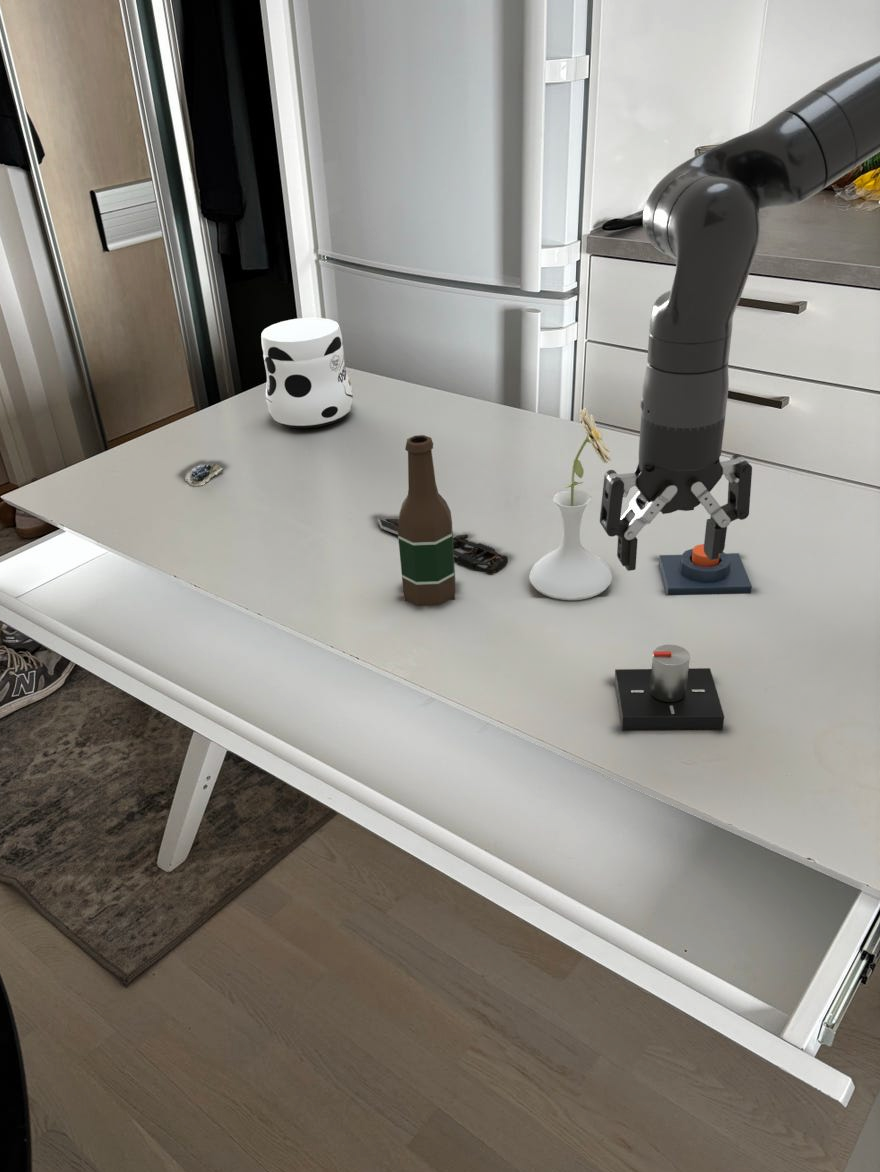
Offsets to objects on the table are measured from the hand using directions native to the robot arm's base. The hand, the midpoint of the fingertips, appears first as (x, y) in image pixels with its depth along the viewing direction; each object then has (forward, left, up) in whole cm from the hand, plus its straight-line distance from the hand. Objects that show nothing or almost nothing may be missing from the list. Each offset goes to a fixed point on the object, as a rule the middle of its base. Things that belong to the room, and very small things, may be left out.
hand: (669, 561), depth 99 cm
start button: (-11, -32, -19) cm, 39 cm away
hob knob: (-2, -3, -19) cm, 19 cm away
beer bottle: (+27, -29, -22) cm, 46 cm away
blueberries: (+71, -72, -22) cm, 104 cm away
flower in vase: (+7, -32, -22) cm, 40 cm away
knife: (+27, -44, -22) cm, 56 cm away
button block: (-11, -32, -22) cm, 40 cm away
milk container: (+55, -98, -22) cm, 115 cm away
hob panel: (-2, -3, -22) cm, 22 cm away
